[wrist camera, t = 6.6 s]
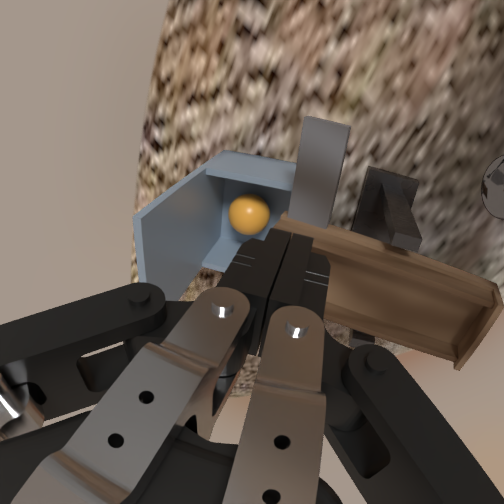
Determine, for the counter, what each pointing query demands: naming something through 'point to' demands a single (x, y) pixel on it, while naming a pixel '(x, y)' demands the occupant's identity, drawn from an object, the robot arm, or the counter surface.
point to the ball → (249, 214)
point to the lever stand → (386, 219)
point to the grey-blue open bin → (205, 218)
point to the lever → (383, 266)
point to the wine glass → (494, 188)
